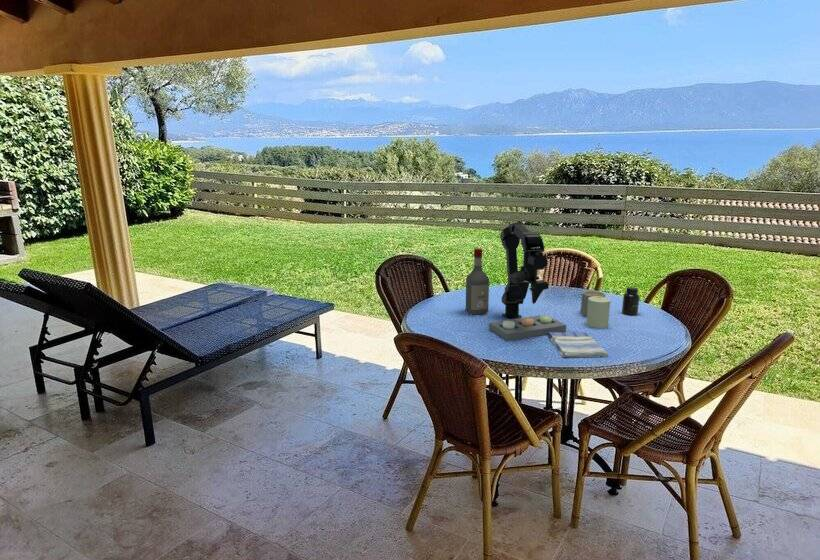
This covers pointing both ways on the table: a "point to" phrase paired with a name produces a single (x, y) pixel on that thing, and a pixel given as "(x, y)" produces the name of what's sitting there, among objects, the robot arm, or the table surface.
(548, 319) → the sage button
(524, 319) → the terracotta button
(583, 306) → the coffee mug
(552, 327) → the button panel
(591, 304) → the sage green canister
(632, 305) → the supplement bottle
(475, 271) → the liquor
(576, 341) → the dish towel
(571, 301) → the table surface
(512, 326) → the cream button
